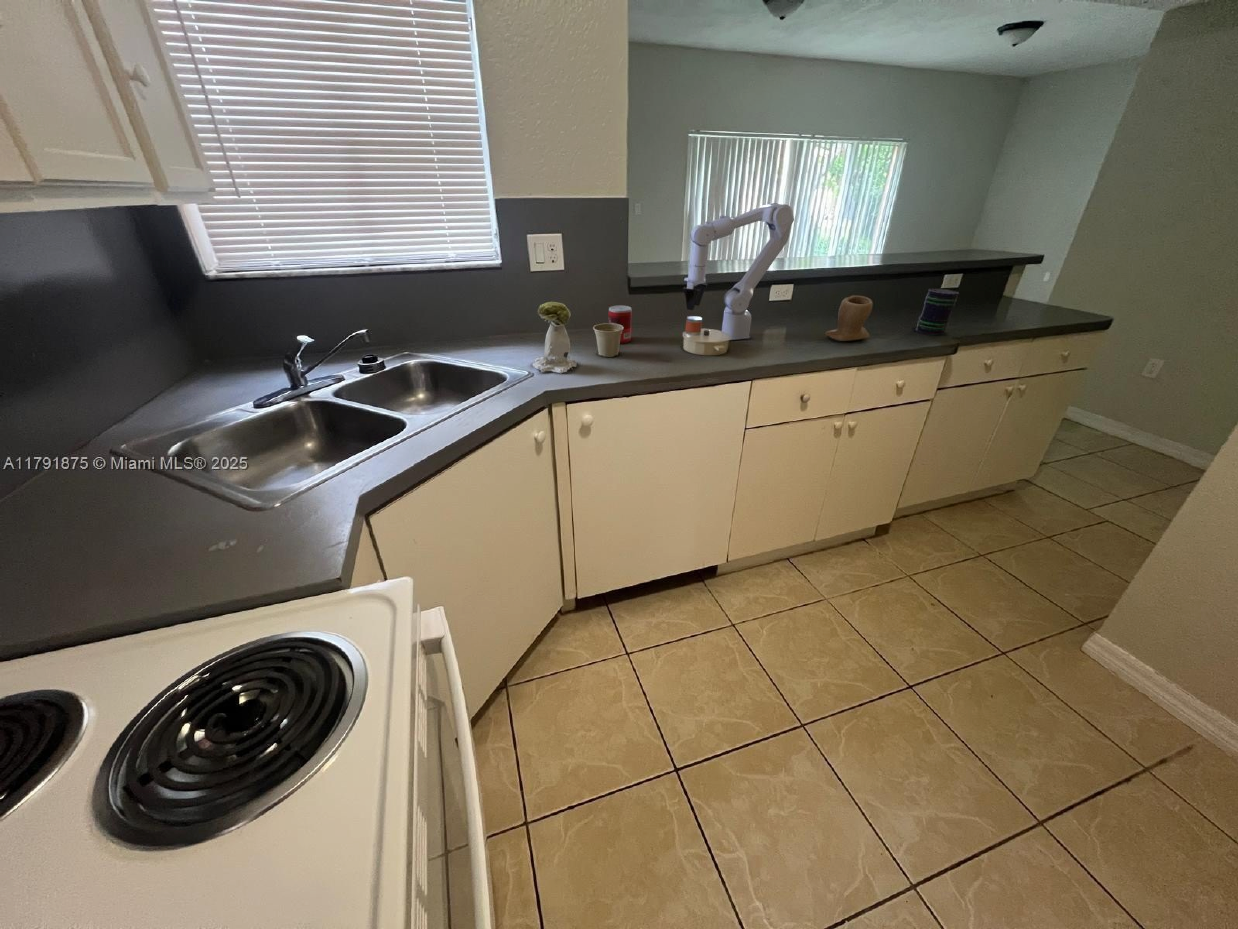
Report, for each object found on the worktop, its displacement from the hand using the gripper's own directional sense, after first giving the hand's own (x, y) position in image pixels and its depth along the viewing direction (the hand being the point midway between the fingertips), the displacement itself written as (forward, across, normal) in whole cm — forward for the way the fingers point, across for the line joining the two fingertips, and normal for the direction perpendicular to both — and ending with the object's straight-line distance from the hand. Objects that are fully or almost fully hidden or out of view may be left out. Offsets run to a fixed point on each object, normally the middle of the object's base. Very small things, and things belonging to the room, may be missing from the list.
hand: (693, 307), depth 168 cm
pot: (+10, +10, +8) cm, 17 cm away
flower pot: (+11, +31, -18) cm, 37 cm away
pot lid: (+6, +10, +8) cm, 15 cm away
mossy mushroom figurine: (+11, +48, -27) cm, 57 cm away
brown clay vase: (+10, -24, +52) cm, 58 cm away
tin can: (+6, +10, +4) cm, 12 cm away
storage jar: (+9, -50, +80) cm, 95 cm away
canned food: (+11, +15, -21) cm, 28 cm away
